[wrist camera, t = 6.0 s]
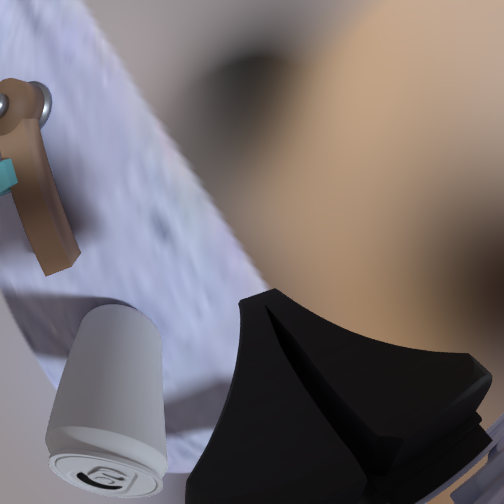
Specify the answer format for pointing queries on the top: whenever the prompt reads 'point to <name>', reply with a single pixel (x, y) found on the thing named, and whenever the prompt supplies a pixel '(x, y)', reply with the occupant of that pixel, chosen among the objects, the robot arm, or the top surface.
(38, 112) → the latch bar
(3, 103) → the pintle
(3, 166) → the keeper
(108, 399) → the beverage can
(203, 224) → the top surface
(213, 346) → the top surface
